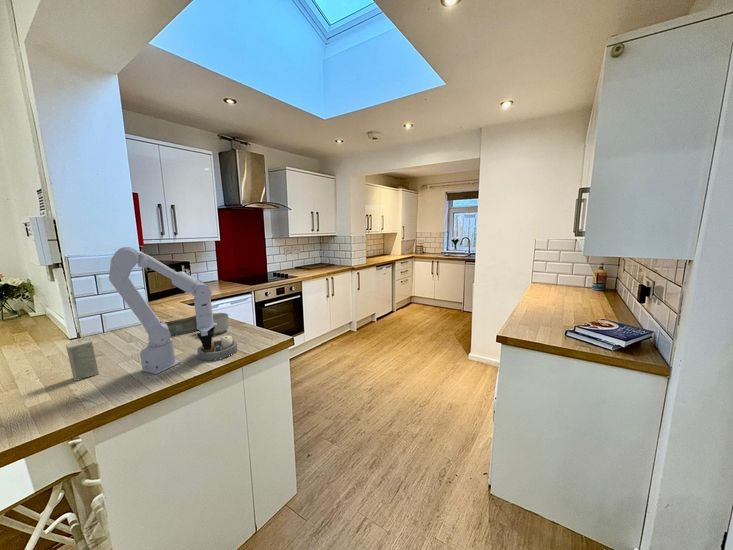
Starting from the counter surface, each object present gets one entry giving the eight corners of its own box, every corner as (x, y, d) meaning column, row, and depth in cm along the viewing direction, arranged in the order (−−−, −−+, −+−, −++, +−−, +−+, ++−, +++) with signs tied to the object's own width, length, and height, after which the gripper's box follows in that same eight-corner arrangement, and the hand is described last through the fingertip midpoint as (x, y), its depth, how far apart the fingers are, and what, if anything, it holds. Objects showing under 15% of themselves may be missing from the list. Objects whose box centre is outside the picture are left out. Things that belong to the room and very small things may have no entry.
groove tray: (217, 362, 108) (216, 355, 108) (189, 357, 113) (189, 350, 113) (245, 348, 121) (244, 341, 121) (219, 344, 126) (218, 337, 126)
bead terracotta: (207, 353, 113) (206, 341, 112) (200, 352, 115) (199, 340, 114) (216, 349, 117) (215, 337, 116) (209, 348, 118) (208, 336, 117)
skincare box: (96, 370, 104) (90, 338, 102) (99, 374, 102) (93, 341, 100) (72, 378, 100) (65, 344, 98) (74, 382, 97) (66, 347, 95)
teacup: (234, 328, 146) (232, 312, 145) (221, 336, 135) (219, 319, 134) (208, 327, 147) (206, 312, 146) (193, 335, 137) (191, 319, 136)
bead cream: (227, 351, 116) (226, 339, 115) (219, 350, 117) (218, 338, 116) (235, 347, 119) (233, 336, 119) (227, 346, 121) (226, 335, 120)
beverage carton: (158, 335, 140) (156, 322, 138) (203, 325, 152) (201, 313, 151) (160, 339, 134) (158, 326, 132) (206, 329, 146) (205, 316, 145)
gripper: (214, 317, 108) (218, 352, 110) (216, 308, 121) (220, 339, 123) (192, 320, 105) (197, 356, 108) (197, 310, 118) (201, 342, 121)
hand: (208, 347), depth 115 cm, fingers closed on bead terracotta, 4 cm apart
